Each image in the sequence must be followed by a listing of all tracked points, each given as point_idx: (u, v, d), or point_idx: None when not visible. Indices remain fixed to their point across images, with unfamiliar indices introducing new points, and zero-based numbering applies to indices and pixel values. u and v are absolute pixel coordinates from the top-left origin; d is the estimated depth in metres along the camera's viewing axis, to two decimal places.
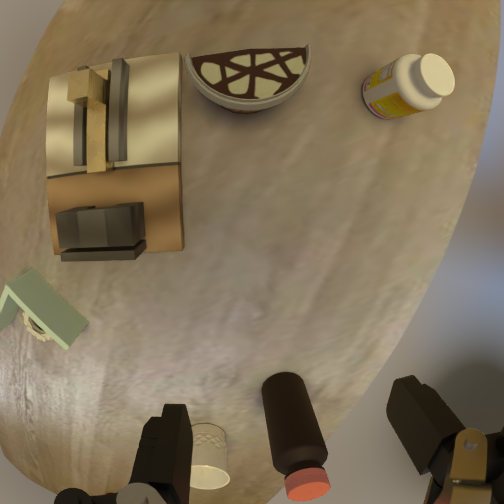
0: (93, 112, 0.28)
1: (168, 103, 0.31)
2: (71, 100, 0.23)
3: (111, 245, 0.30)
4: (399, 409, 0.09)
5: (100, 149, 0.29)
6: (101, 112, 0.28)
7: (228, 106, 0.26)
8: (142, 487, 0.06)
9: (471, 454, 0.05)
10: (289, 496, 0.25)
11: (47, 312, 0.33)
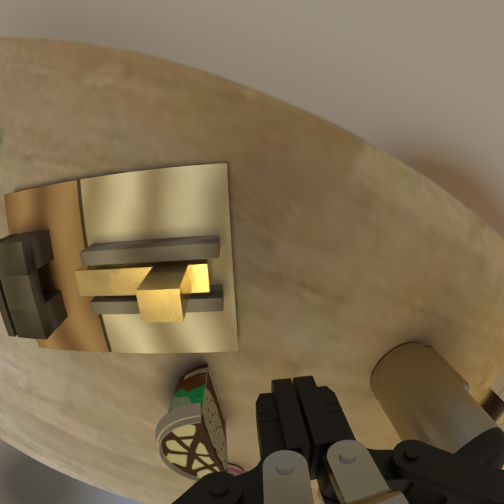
0: None
1: (172, 344, 0.29)
2: None
3: (10, 313, 0.22)
4: None
5: (101, 289, 0.24)
6: None
7: None
8: (285, 455, 0.07)
9: (355, 468, 0.06)
10: None
11: None
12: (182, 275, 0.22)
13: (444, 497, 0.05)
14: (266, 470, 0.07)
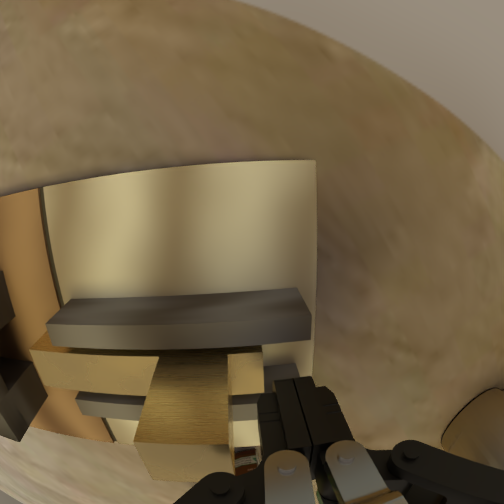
0: (149, 371, 0.13)
1: None
2: None
3: None
4: None
5: (75, 382, 0.13)
6: None
7: None
8: (287, 455, 0.07)
9: (354, 468, 0.06)
10: None
11: None
12: (223, 391, 0.10)
13: (443, 497, 0.05)
14: (268, 470, 0.07)
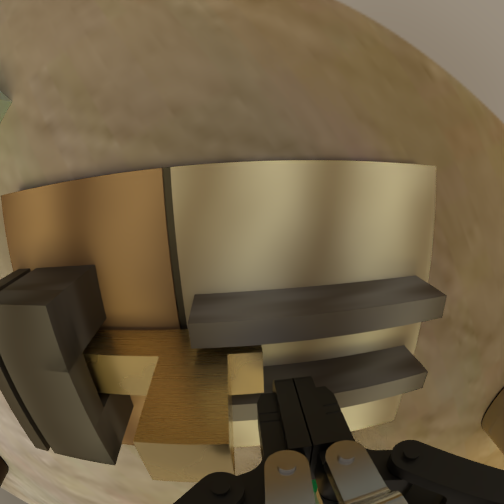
0: (149, 371, 0.13)
1: None
2: None
3: (35, 422, 0.11)
4: None
5: None
6: None
7: None
8: (287, 455, 0.07)
9: (354, 468, 0.06)
10: None
11: None
12: (223, 391, 0.10)
13: (443, 497, 0.05)
14: (268, 470, 0.07)
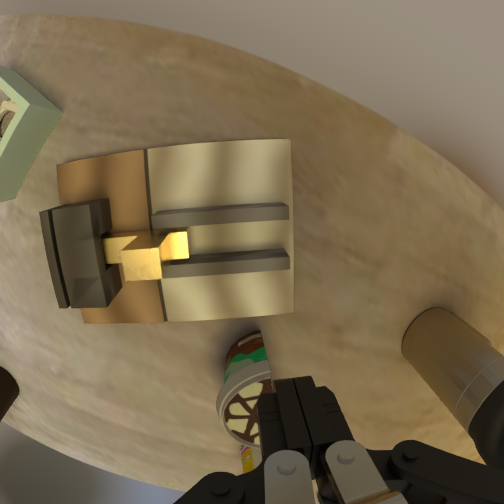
0: None
1: (231, 309, 0.32)
2: None
3: (65, 282, 0.24)
4: None
5: None
6: None
7: (218, 398, 0.28)
8: (287, 454, 0.07)
9: (354, 468, 0.06)
10: None
11: (9, 163, 0.23)
12: (162, 239, 0.24)
13: (443, 497, 0.05)
14: (267, 470, 0.07)
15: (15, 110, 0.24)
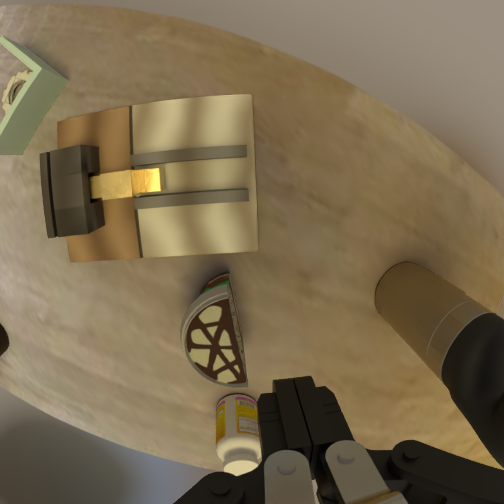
0: None
1: (200, 245, 0.35)
2: None
3: (55, 213, 0.28)
4: None
5: None
6: None
7: (181, 325, 0.31)
8: (287, 455, 0.07)
9: (354, 468, 0.06)
10: None
11: (20, 119, 0.26)
12: None
13: (443, 497, 0.05)
14: (268, 470, 0.07)
15: (28, 79, 0.27)
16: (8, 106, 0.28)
